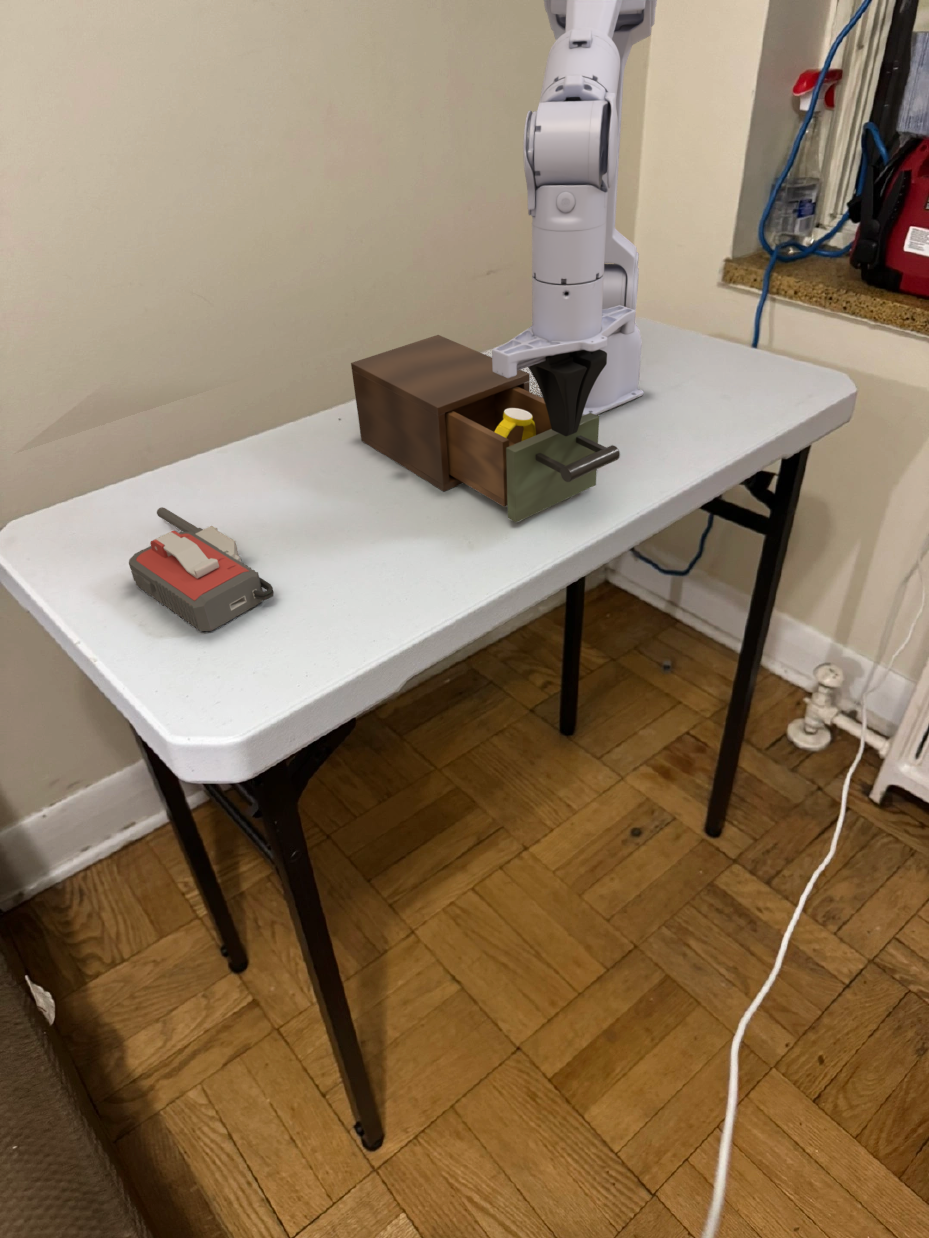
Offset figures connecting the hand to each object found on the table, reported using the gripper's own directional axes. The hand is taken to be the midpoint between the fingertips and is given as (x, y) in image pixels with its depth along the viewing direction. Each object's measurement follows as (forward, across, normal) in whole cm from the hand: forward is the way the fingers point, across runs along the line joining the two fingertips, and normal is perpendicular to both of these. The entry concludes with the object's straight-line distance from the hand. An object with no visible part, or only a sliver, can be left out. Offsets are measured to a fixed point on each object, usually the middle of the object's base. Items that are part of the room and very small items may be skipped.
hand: (564, 430), depth 77 cm
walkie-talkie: (+9, -32, +15) cm, 36 cm away
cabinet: (+9, 0, +19) cm, 21 cm away
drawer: (+8, 0, +6) cm, 10 cm away
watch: (+6, -1, +7) cm, 10 cm away
